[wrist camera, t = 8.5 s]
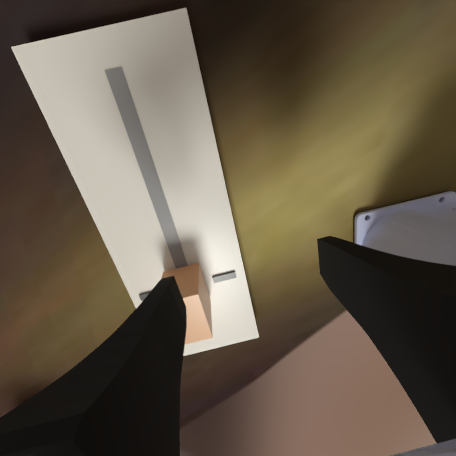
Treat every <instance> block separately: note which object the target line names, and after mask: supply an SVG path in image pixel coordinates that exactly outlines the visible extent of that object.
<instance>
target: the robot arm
mask: <svg viewBox="0 0 456 456" xmlns="http://www.w3.org/2000/svg"><path fill="white" fill-rule="evenodd" d="M439 199H440V200H439ZM366 216H367V218H366V219H365V217H366ZM317 242H318V254H319V266H320V274H321V276H322V277H323V279H324V281H325V282H326V284H327V285H328V287H329V289H330V290H331V291H332V293H333V294H334V295H335V296H336V297H337V299H338V300H339V301H340V302H341V303H342V305H343V306H344V307H345V308H346V309H347V310H348V312H349V313H350V314H351V315H352V316H353V317H354V319H355V320H356V321H357V322H358V323H359V324H360V326H361V327H362V328H363V329H364V331H365V332H366V333H367V335H368V336H369V337H370V339H371V340H372V342H373V343H374V344H375V345H376V347H377V349H378V350H379V352H380V353H381V355H382V356H383V358H384V359H385V361H386V362H387V364H388V365H389V367H390V368H391V369H392V371H393V372H394V374H395V375H396V377H397V379H398V380H399V382H400V383H401V385H402V386H403V388H404V390H405V391H406V393H407V394H408V396H409V398H410V399H411V401H412V403H413V404H414V406H415V407H416V409H417V411H418V412H419V414H420V416H421V417H422V419H423V421H424V422H425V424H426V426H427V427H428V429H429V431H430V433H431V434H432V436H433V438H434V439H435V441H436V442H437V444H433V445H430V446H426V447H422V448H418V449H414V450H411V451H407V452H403V453H399V454H395V455H391V456H456V192H452V191H448V192H444V193H440V194H436V195H432V196H428V197H424V198H420V199H415V200H411V201H407V202H403V203H399V204H395V205H391V206H386V207H382V208H378V209H374V210H370V211H366V212H362V213H359V214H357V215H356V216H355V238H354V243H352V242H349V241H346V240H343V239H339V238H336V237H332V236H327V237H324V238H320V239H317ZM186 328H187V314H186V306H185V303H184V300H183V298H182V295H181V293H180V290H179V287H178V285H177V282H176V280H175V277H174V276H170V277H166V278H162V279H161V280H160V281H159V282H158V283H157V284H156V286H155V287H154V288H153V289H152V291H151V292H150V293H149V294H148V295H147V297H146V298H145V299H144V300H143V301H142V303H141V304H140V305H139V306H138V307H137V309H136V310H135V311H134V312H133V313H132V314H131V315H130V316H129V317H128V318H127V320H126V321H125V322H124V323H123V324H122V325H121V326H120V327H119V328H118V329H117V330H116V331H115V332H114V333H113V334H112V335H111V336H110V337H109V338H108V339H107V340H105V341H104V342H103V343H102V344H101V345H100V346H99V347H98V348H96V349H95V350H94V351H93V352H92V353H90V354H89V355H88V356H87V357H86V358H84V359H83V360H82V361H81V362H80V363H78V364H77V365H76V366H75V367H73V368H72V369H71V370H69V371H68V372H67V373H66V374H64V375H63V376H62V377H60V378H59V379H57V380H56V381H55V382H53V383H52V384H50V385H49V386H48V387H46V388H45V389H43V390H42V391H40V392H39V393H38V394H36V395H35V396H33V397H31V398H30V399H28V400H27V401H25V402H24V403H22V404H21V405H19V406H18V407H16V408H15V409H13V410H12V411H10V412H9V413H7V414H5V415H4V416H2V417H1V418H0V456H180V447H179V446H180V441H179V430H180V381H181V370H182V362H183V354H184V346H185V337H186Z"/></svg>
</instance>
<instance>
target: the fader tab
mask: <svg viewBox="0 0 456 456" xmlns="http://www.w3.org/2000/svg"><path fill="white" fill-rule="evenodd" d="M170 276H174V277H175V280H176V282H177V285H178V287H179V290H180V293H181V295H182V298H183V300H184V303H185V306H186V314H187V328H186V337H185V344H189V343H193V342H197V341H201V340H205V339H209V338H213V335H212V316H211V300H210V297H209V294H208V290H207V287H206V284H205V281H204V277H203V274H202V271H201V268H200V265H199V263H197V264H193V265H189V266H185V267H180V268H176V269H172V270H168V271H164V272H163V274H162V278H166V277H170ZM162 278H161V279H162Z"/></svg>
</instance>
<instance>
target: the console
mask: <svg viewBox="0 0 456 456" xmlns="http://www.w3.org/2000/svg"><path fill="white" fill-rule="evenodd" d="M11 48H12V50H13V53H14V55H15V57H16V59H17V61H18V63H19V65H20V67H21V69H22V71H23V73H24V75H25V78H26V80H27V82H28V84H29V86H30V88H31V90H32V92H33V94H34V96H35V98H36V101H37V103H38V105H39V107H40V109H41V111H42V113H43V115H44V117H45V119H46V121H47V123H48V126H49V128H50V130H51V132H52V134H53V136H54V138H55V140H56V142H57V144H58V146H59V149H60V151H61V153H62V155H63V157H64V159H65V161H66V163H67V165H68V167H69V169H70V171H71V174H72V176H73V178H74V180H75V182H76V184H77V186H78V188H79V190H80V192H81V194H82V197H83V199H84V201H85V203H86V205H87V207H88V209H89V211H90V213H91V215H92V217H93V219H94V222H95V224H96V226H97V228H98V230H99V232H100V234H101V236H102V238H103V240H104V242H105V245H106V247H107V249H108V251H109V253H110V255H111V257H112V259H113V261H114V263H115V265H116V267H117V270H118V272H119V274H120V276H121V278H122V280H123V282H124V284H125V286H126V288H127V290H128V293H129V295H130V297H131V299H132V301H133V303H134V305H135V307H136V309H137V307H138V306H139V305H140V304H141V303H142V301H143V300H144V299H145V298H146V297H147V295H148V294H149V293H150V292H151V291H152V289H153V288H154V287H155V286H156V284H157V283H158V282H159V281H160V280H161V278H162V274H163V272H164V271H168V270H172V269H176V268H180V267H185V266H189V265H193V264H197V263H199V265H200V268H201V271H202V274H203V277H204V281H205V284H206V287H207V290H208V294H209V297H210V300H211V316H212V335H213V338H209V339H205V340H201V341H197V342H193V343H189V344H185V346H184V354H183V356H186V355H190V354H194V353H198V352H202V351H206V350H210V349H214V348H218V347H222V346H226V345H230V344H234V343H238V342H242V341H246V340H250V339H254V338H258V337H259V335H258V330H257V326H256V321H255V317H254V312H253V308H252V303H251V299H250V294H249V289H248V285H247V280H246V276H245V271H244V267H243V262H242V258H241V253H240V249H239V244H238V240H237V235H236V231H235V226H234V222H233V217H232V212H231V208H230V203H229V199H228V194H227V190H226V185H225V181H224V176H223V172H222V167H221V163H220V158H219V154H218V149H217V145H216V140H215V135H214V131H213V126H212V122H211V117H210V113H209V108H208V104H207V99H206V95H205V90H204V86H203V81H202V77H201V72H200V68H199V63H198V58H197V54H196V49H195V45H194V40H193V36H192V31H191V27H190V22H189V18H188V13H187V9H186V8H183V9H178V10H174V11H169V12H165V13H160V14H156V15H151V16H147V17H143V18H138V19H134V20H129V21H125V22H120V23H116V24H111V25H107V26H103V27H98V28H94V29H89V30H85V31H80V32H76V33H71V34H67V35H62V36H58V37H54V38H49V39H45V40H40V41H36V42H31V43H27V44H22V45H18V46H14V47H11Z"/></svg>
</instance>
